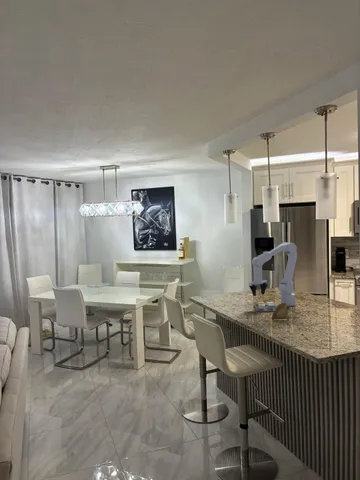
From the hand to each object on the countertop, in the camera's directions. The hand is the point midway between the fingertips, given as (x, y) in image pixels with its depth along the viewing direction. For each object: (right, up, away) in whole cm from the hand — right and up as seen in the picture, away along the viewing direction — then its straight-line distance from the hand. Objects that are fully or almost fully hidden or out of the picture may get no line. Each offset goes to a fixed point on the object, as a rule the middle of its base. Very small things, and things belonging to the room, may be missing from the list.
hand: (258, 295), depth 243 cm
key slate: (+7, -7, -8) cm, 12 cm away
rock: (+7, -11, -25) cm, 28 cm away
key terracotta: (+1, -7, -1) cm, 7 cm away
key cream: (+1, -7, -7) cm, 10 cm away
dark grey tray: (+4, -10, -4) cm, 11 cm away
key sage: (+7, -7, -2) cm, 10 cm away
